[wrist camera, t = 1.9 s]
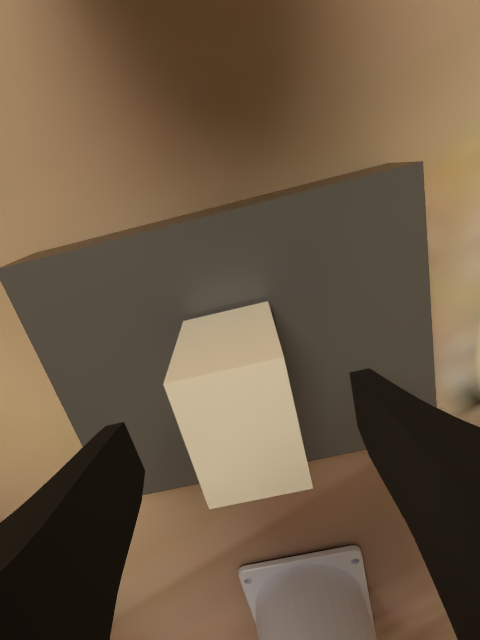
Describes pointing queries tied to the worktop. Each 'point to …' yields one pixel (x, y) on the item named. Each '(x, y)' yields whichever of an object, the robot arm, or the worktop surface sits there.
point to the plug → (237, 407)
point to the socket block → (235, 292)
